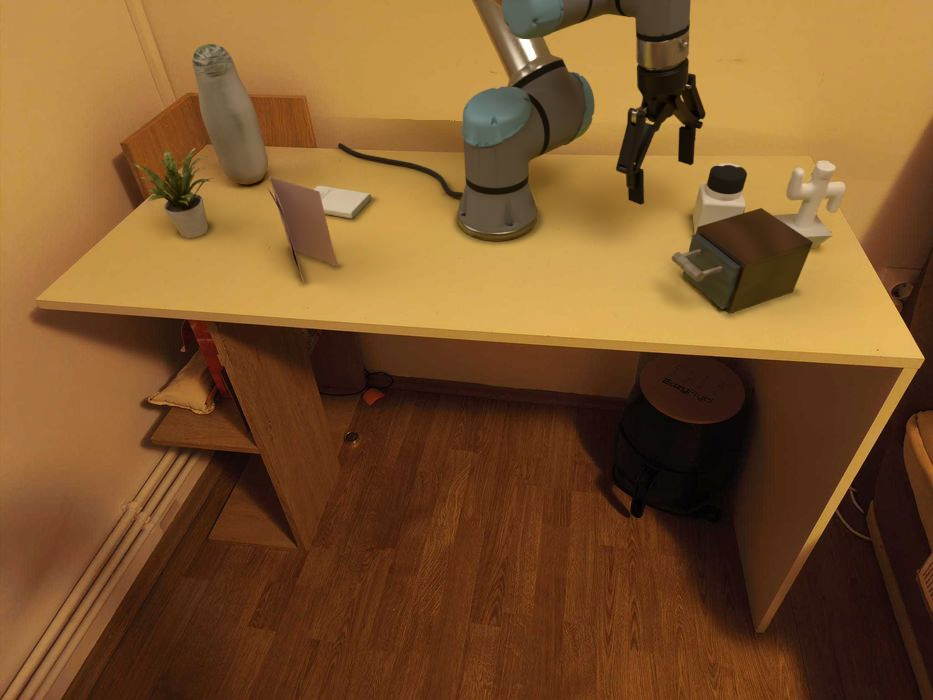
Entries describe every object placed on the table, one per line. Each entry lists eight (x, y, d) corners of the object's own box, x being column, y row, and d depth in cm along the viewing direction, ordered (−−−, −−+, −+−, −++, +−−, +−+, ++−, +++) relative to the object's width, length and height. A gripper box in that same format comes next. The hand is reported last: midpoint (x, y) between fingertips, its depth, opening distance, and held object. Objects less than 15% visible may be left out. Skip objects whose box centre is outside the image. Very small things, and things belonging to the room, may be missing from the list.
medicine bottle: (735, 240, 110) (754, 179, 102) (694, 237, 112) (709, 177, 103) (731, 219, 115) (749, 159, 107) (692, 216, 117) (706, 157, 108)
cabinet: (729, 313, 96) (745, 263, 90) (685, 275, 104) (697, 226, 97) (792, 292, 99) (813, 242, 93) (745, 256, 107) (761, 207, 100)
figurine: (831, 253, 106) (866, 173, 96) (776, 255, 106) (806, 176, 96) (813, 230, 112) (845, 152, 101) (761, 232, 112) (787, 155, 101)
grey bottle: (217, 183, 135) (169, 48, 116) (256, 165, 140) (215, 33, 121) (244, 196, 130) (197, 58, 111) (282, 177, 136) (245, 42, 116)
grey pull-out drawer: (695, 318, 95) (706, 278, 89) (657, 283, 101) (665, 243, 96) (780, 289, 99) (796, 248, 93) (738, 257, 105) (751, 217, 100)
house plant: (250, 229, 121) (224, 150, 110) (186, 261, 114) (151, 180, 103) (213, 205, 128) (184, 129, 117) (150, 234, 121) (114, 156, 110)
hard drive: (352, 220, 122) (299, 210, 125) (371, 199, 127) (320, 190, 131) (350, 213, 120) (297, 203, 124) (370, 192, 126) (318, 183, 129)
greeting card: (286, 250, 115) (263, 177, 104) (324, 240, 117) (306, 167, 106) (299, 284, 107) (276, 208, 97) (340, 272, 109) (322, 197, 99)
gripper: (628, 103, 86) (632, 226, 101) (734, 28, 94) (723, 152, 109) (587, 93, 91) (597, 211, 106) (692, 22, 99) (687, 141, 114)
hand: (661, 181), depth 108 cm, fingers open, 13 cm apart
